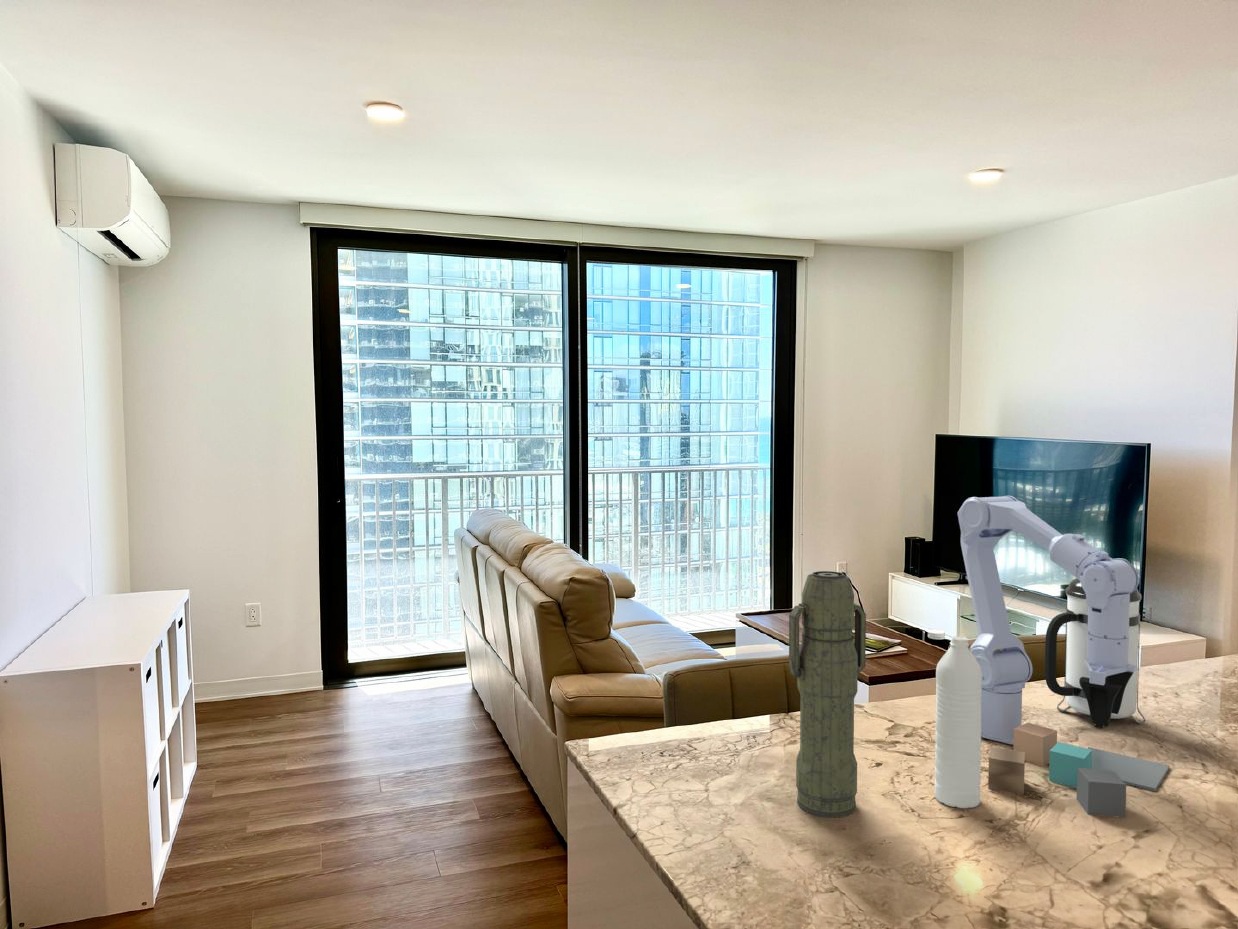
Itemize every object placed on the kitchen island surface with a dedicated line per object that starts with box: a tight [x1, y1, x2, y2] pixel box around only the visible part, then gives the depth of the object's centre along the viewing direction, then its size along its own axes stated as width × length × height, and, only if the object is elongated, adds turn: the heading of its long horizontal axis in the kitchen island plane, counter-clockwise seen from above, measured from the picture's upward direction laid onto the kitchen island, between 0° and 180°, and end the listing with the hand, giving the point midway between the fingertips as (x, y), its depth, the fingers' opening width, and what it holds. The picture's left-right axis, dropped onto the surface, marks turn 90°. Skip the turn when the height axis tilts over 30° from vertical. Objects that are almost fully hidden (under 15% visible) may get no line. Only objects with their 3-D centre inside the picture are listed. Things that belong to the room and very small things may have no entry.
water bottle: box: [927, 629, 982, 809], centre depth 128 cm, size 9×6×25 cm
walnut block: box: [987, 746, 1026, 796], centre depth 132 cm, size 5×5×5 cm
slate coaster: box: [1086, 747, 1170, 792], centre depth 138 cm, size 12×12×1 cm
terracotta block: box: [1012, 722, 1058, 767], centre depth 143 cm, size 5×5×5 cm
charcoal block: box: [1076, 768, 1127, 818], centre depth 124 cm, size 5×5×5 cm
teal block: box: [1048, 741, 1092, 789], centre depth 134 cm, size 5×5×5 cm
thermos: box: [788, 570, 867, 818], centre depth 125 cm, size 9×12×35 cm
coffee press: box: [1044, 577, 1146, 729], centre depth 162 cm, size 17×16×30 cm
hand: (1105, 718), depth 134 cm, fingers open, 7 cm apart
